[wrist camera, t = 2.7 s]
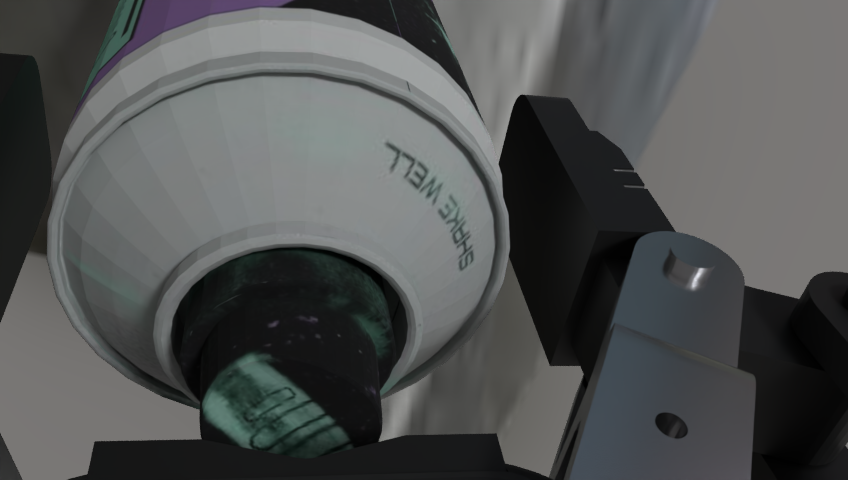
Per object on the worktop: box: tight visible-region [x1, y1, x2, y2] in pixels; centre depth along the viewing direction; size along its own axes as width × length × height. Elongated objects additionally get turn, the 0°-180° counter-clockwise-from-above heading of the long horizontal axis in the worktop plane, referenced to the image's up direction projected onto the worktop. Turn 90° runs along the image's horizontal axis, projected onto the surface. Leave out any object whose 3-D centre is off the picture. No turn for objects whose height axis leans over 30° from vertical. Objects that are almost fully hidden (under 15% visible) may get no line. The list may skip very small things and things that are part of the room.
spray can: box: [47, 0, 510, 458], centre depth 15 cm, size 6×6×20 cm
